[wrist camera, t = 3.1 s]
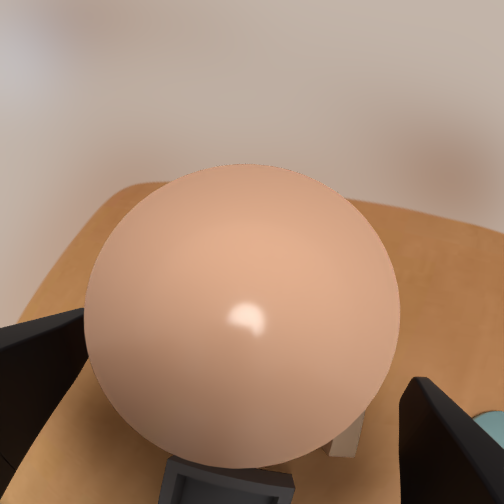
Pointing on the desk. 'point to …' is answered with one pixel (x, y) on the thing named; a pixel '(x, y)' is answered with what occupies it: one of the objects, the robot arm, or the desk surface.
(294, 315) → the canister
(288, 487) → the tray
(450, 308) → the desk surface
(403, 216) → the desk surface
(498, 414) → the pad
